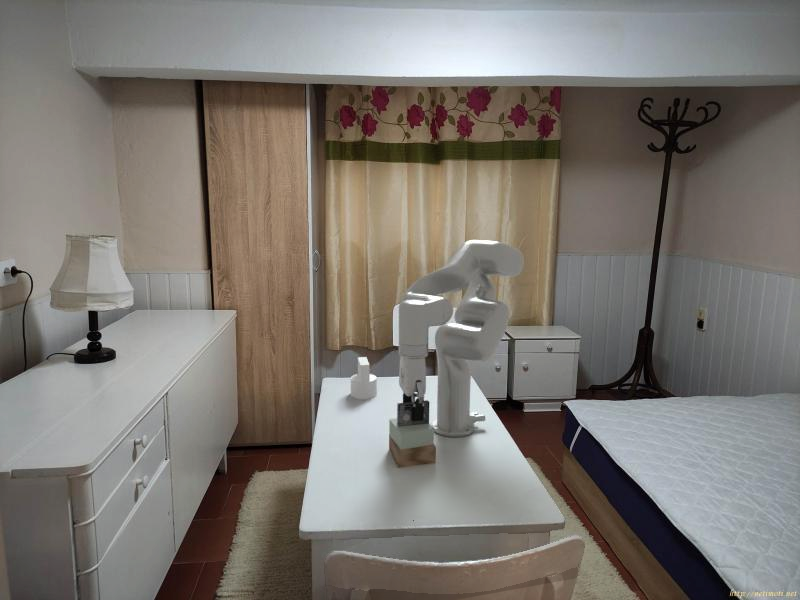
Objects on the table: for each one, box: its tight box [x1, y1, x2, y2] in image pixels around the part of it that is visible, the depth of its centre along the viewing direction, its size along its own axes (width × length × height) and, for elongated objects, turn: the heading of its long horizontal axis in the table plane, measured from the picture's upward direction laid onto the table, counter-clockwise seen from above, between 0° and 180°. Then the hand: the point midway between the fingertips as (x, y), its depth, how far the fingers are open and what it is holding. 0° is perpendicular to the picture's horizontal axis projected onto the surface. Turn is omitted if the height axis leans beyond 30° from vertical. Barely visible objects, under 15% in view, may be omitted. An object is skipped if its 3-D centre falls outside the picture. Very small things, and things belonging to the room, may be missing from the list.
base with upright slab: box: [350, 356, 378, 400], centre depth 185 cm, size 9×9×12 cm
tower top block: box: [388, 417, 435, 450], centre depth 141 cm, size 9×9×4 cm
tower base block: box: [388, 434, 437, 469], centre depth 142 cm, size 10×10×5 cm
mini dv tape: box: [396, 399, 430, 427], centre depth 140 cm, size 8×2×6 cm, turn 105°
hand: (413, 413), depth 140 cm, fingers open, 8 cm apart
